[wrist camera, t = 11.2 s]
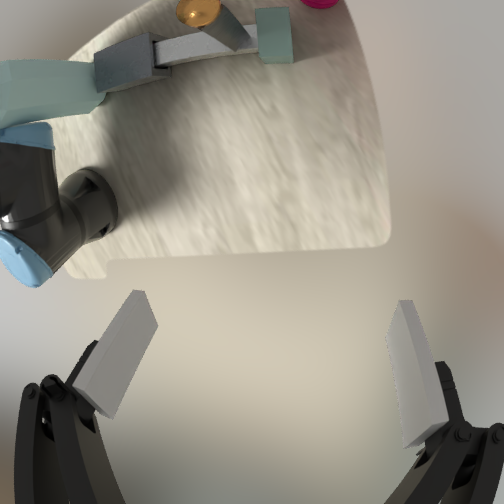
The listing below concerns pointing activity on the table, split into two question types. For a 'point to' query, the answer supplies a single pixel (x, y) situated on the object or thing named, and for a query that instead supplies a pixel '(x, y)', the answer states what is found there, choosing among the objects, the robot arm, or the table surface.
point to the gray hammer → (206, 35)
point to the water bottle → (45, 90)
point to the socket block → (274, 35)
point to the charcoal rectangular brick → (128, 64)
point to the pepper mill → (320, 3)
